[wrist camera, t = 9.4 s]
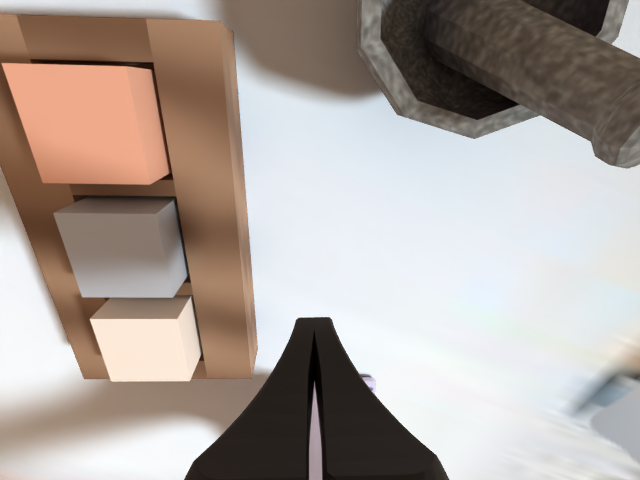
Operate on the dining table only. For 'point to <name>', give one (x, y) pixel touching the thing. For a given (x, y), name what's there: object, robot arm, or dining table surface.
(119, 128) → the terracotta key
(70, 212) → the slate key
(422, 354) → the dining table surface
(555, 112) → the mortar and pestle
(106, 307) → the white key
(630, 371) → the dining table surface
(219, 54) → the key block
